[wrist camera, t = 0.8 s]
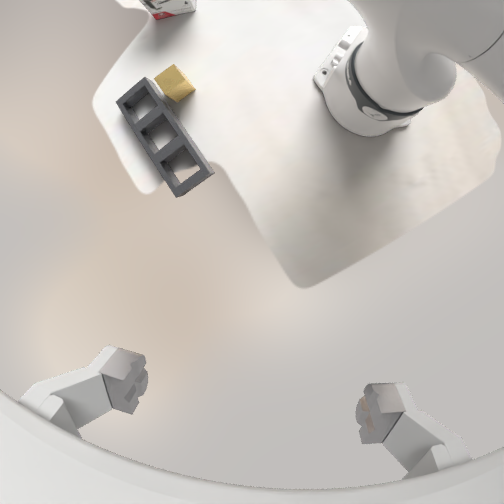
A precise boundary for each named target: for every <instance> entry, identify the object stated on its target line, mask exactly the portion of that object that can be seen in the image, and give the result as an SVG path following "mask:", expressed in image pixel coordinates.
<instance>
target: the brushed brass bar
mask: <svg viewBox="0 0 504 504" xmlns="http://www.w3.org/2000/svg"><path fill="white" fill-rule="evenodd" d="M154 79H155V81H156V82H157V84H158V85H159V87H160V88H161V89H162V91H163V92H164V94H165V95H166V96H168V97H170V98H171V99H173V100H174V101H176V102H179V101H180V100H182V99H183V98H184V97H186V96H187V95H188V94H190V93H191V92H193V91H194V90H196V89H195V88H194V87H193V85H192V84H191V82H190V81H189V80H188V78H187V77H186V76H185V74H184V73H183V72H181V71H180V70H179V69H178V68H177V67H176V66H175V65H174V64H173V65H171V66H170V67H169V68H167V69H166V70H165V71H163V72H162V73H161V74H159V75H158V76H157V77H155V78H154Z"/></svg>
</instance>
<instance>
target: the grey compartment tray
mask: <svg viewBox="0 0 504 504" xmlns="http://www.w3.org/2000/svg"><path fill="white" fill-rule="evenodd" d="M148 93H150V94H151V96H152V97H153V99H154V100H155V102H156V103H157V104H158V105H157V106H156V107H155V108H154V109H152V110H151V111H150V112H149V113H148V114H146V115H145V116H144V117H143V118H142V119H140V120H139V118H138V117H137V115H136V114H135V112H134V111H133V109H132V106H133V105H134V104H136V103H137V102H138V101H139V100H140V99H142V98H143V97H144V96H145V95H146V94H148ZM116 103H117V105H118V106H119V108H120V110H121V111H122V113H123V115H124V116H125V118H126V120H127V121H128V123H129V124H130V126H131V128H132V129H133V131H134V133H135V134H136V136H137V137H138V139H139V141H140V142H141V144H142V145H143V147H144V149H145V150H146V152H147V153H148V155H149V156H150V158H151V160H152V161H153V163H154V164H155V166H156V167H157V169H158V170H159V172H160V174H161V175H162V177H163V178H164V180H165V181H166V183H167V184H168V186H169V187H170V189H171V190H172V192H173V194H174V195H175V197H180V196H183V195H185V194H186V193H187V192H189V191H190V190H191V189H193V188H194V187H196V186H197V185H198V184H200V183H201V182H202V181H204V180H205V179H207V178H208V177H210V176H211V175H213V174H214V171H213V170H212V168H211V167H210V165H209V164H208V162H207V161H206V159H205V158H204V156H203V155H202V153H201V152H200V150H199V149H198V147H197V146H196V144H195V143H194V141H193V140H192V138H191V137H190V136H189V134H188V133H187V131H186V130H185V128H184V127H183V125H182V124H181V122H180V121H179V119H178V118H177V116H176V115H175V113H174V112H173V111H172V109H171V108H170V106H169V105H168V103H167V102H166V100H165V99H164V97H163V96H162V94H161V93H160V92H159V90H158V89H157V87H156V86H155V84H154V83H153V82H152V81H151V80H149V79H148V78H146V77H144V78H143V79H142V80H141V81H139V82H138V83H137V84H136V85H134V86H133V87H132V88H131V89H130V90H129V91H127V92H126V93H125V94H124V95H123V96H122V97H121V98H120V99H118V100H117V101H116ZM166 119H168V121H169V122H170V124H171V125H172V127H173V128H174V130H175V131H176V133H177V134H178V136H177V137H176V138H174V139H173V140H172V141H170V142H169V143H168V144H167V145H165V146H164V147H163V148H162V149H160V150H158V148H157V147H156V145H155V143H154V142H153V140H152V139H151V137H150V136H149V134H148V133H150V132H151V131H152V130H153V129H155V128H156V127H157V126H158V125H159V124H161V123H162V122H163V121H165V120H166ZM186 148H187V149H188V151H189V152H190V154H191V155H192V157H193V158H194V160H195V161H196V163H197V164H198V166H199V167H200V170H199V171H198V172H196V173H195V174H194V175H192V176H191V177H189V178H188V179H187V180H185V181H184V182H183V183H180V182H179V180H178V179H177V177H176V176H175V174H174V173H173V171H172V170H171V168H170V167H169V165H168V164H167V163H168V162H169V161H171V160H172V159H173V158H174V157H176V156H177V155H178V154H180V153H181V152H182V151H184V150H185V149H186Z"/></svg>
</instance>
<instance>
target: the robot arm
mask: <svg viewBox="0 0 504 504" xmlns="http://www.w3.org/2000/svg"><path fill="white" fill-rule="evenodd" d="M348 1H349V2H350V3H351V4H352V5H353V6H354V8H355V9H356V10H357V11H358V12H359V14H360V15H361V17H362V18H363V20H364V22H365V24H366V26H367V27H359V26H351V27H350V28H349V29H348V30H347V31H346V32H345V34H344V35H343V36H342V38H341V39H340V40H339V42H338V43H337V44H336V46H335V47H334V48H333V50H332V51H331V53H330V54H329V55H328V57H327V58H326V59H325V61H324V62H323V64H322V65H321V66H320V68H319V69H318V70H317V72H316V73H315V75H314V81H315V83H316V84H317V86H318V87H319V88H320V89H321V90H322V92H323V94H324V97H325V101H326V104H327V107H328V109H329V111H330V113H331V114H332V116H333V117H334V118H335V120H336V121H337V122H338V123H339V124H340V125H342V126H343V127H344V128H346V129H347V130H349V131H351V132H353V133H355V134H358V135H361V136H369V137H372V136H379V135H382V134H384V133H386V132H388V131H390V130H391V129H393V128H395V127H404V126H407V125H409V124H410V122H411V118H413V117H414V116H416V115H417V114H418V113H419V111H421V110H422V109H423V108H424V107H426V106H428V105H431V104H433V103H436V102H439V101H441V100H443V99H444V98H446V97H447V96H448V94H449V93H450V92H451V90H452V89H453V87H454V85H455V81H456V64H455V62H456V63H457V64H459V65H460V66H461V67H463V68H464V69H465V70H466V71H468V72H469V73H470V74H471V75H472V76H474V77H475V78H476V79H477V80H478V81H480V82H481V83H482V84H483V85H484V86H485V87H486V88H487V89H489V90H490V91H491V92H492V93H493V94H494V95H495V96H496V97H497V98H498V99H499V100H500V101H501V102H502V103H503V104H504V0H348ZM322 72H326V75H324V74H323V73H322ZM145 364H146V360H145V356H144V355H142V354H138V353H135V352H132V351H128V350H125V349H122V348H117V347H115V346H111V345H107V346H105V348H104V349H103V350H102V351H101V352H100V353H99V354H98V356H97V357H96V358H95V359H94V360H93V361H92V362H91V364H90V365H89V366H88V367H87V368H85V367H82V368H80V369H76V370H74V371H71V372H68V373H65V374H62V375H59V376H56V377H53V378H49V379H46V380H43V381H40V382H37V383H34V385H33V386H32V387H31V388H30V389H29V390H28V391H27V392H26V393H25V395H23V396H22V397H21V399H20V400H19V401H18V402H17V401H16V400H14V399H13V398H11V397H10V396H9V395H7V394H6V393H4V392H3V391H2V390H0V504H504V447H502V448H500V449H498V450H495V451H493V452H491V453H489V454H486V455H484V456H481V457H479V458H476V459H474V460H472V458H471V456H470V454H469V452H468V450H467V447H466V445H465V443H464V441H463V439H462V438H461V437H460V436H458V435H457V434H455V433H454V432H452V431H451V430H449V429H448V428H446V427H445V426H443V425H442V424H441V423H439V422H438V421H436V420H435V419H433V418H432V417H431V416H429V415H428V414H426V413H425V412H423V411H422V410H418V409H417V406H416V404H415V402H414V400H413V398H412V396H411V394H410V392H409V390H408V387H407V385H406V384H405V383H404V382H399V383H378V384H377V383H375V384H368V385H367V386H366V387H365V389H364V394H365V396H364V397H362V398H361V399H360V400H359V402H358V404H357V408H356V420H357V422H358V423H359V424H360V425H361V426H362V427H361V428H360V430H359V433H360V437H361V441H362V444H372V443H382V444H383V445H384V446H385V447H386V449H387V450H388V451H389V452H390V453H391V454H392V455H393V456H394V457H395V458H396V459H397V460H398V461H399V462H400V463H401V465H402V466H403V467H404V468H405V469H406V470H407V471H408V472H409V473H408V474H407V475H406V476H405V477H404V478H403V479H402V480H399V481H394V482H388V483H382V484H375V485H368V486H360V487H348V488H335V489H276V488H262V487H252V486H242V485H235V484H227V483H222V482H215V481H210V480H205V479H200V478H195V477H191V476H186V475H182V474H178V473H174V472H170V471H167V470H163V469H160V468H156V467H153V466H150V465H146V464H143V463H140V462H137V461H135V460H132V459H129V458H126V457H123V456H121V455H118V454H116V453H113V452H111V451H108V450H106V449H103V448H101V447H99V446H96V445H94V444H92V443H89V442H87V441H85V440H83V439H82V437H81V435H80V433H79V432H78V430H77V429H79V428H80V427H82V426H84V425H86V424H88V423H89V422H91V421H93V420H95V419H96V418H98V417H100V416H102V415H103V414H105V413H107V412H108V411H110V410H112V408H113V409H116V410H120V411H122V412H126V413H129V414H133V412H134V411H135V409H136V407H137V405H138V403H139V401H138V397H139V396H142V395H143V394H144V392H145V391H146V388H147V384H148V373H147V371H146V370H145V369H144V366H145Z"/></svg>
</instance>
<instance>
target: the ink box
mask: <svg viewBox="0 0 504 504" xmlns="http://www.w3.org/2000/svg"><path fill="white" fill-rule="evenodd" d="M139 1H140V2H141V3H142V4H143V5H144V6H145V7H146V9H147V10H148V11H149V12H150V13H151V14H152V15H153V16H154V18H155V19H156V20H158V19H162V18H166V17H170V16H174V15H178V14H183V13H187V12H192V11H196V0H139Z"/></svg>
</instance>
